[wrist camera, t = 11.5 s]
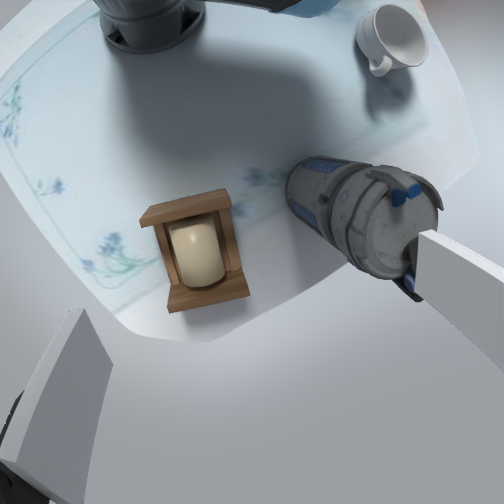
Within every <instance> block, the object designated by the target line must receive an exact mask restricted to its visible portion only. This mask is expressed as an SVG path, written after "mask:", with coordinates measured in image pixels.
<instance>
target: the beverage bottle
mask: <svg viewBox="0 0 504 504" xmlns="http://www.w3.org/2000/svg"><path fill="white" fill-rule="evenodd" d="M286 200H287V203H288V205H289V207H290V209H291V211H292V212H293V213H294V214H295V216H296V217H298V218H299V219H300V220H302V221H303V222H304V223H305V224H307V225H308V226H309V227H310V228H312V229H313V230H314V231H315V232H317V233H318V234H319V235H320V236H322V237H323V238H324V239H325V240H327V241H328V242H329V243H330V244H332V245H333V246H334V247H335V248H337V249H338V250H339V251H341V252H342V253H343V254H344V255H345V256H346V257H347V260H348V261H349V262H350V263H351V264H352V265H354V266H355V267H356V268H357V269H359V270H361V271H363V272H366V273H369V274H370V275H371V276H373V277H376V278H378V279H383V280H390V279H391V280H392V281H393V282H394V283H395V284H396V285H398V287H399V288H400V289H401V290H402V291H403V292H404V293H405V294H407V295H408V296H409V297H410V298H411V299H413V300H414V301H415V302H421V301H423V300H424V299H423V298H422V297H420V296H419V295H418V294H417V293H416V292H414V288H415V279H416V268H417V256H418V240H419V233H420V232H424V231H428V230H431V229H432V230H434V231H436V232H437V226H438V209H437V208H439V209H440V210H442V211H443V210H444V208H443V205H442V200H441V198H440V195H439V193H438V191H437V190H436V189H435V188H434V186H433V185H432V184H431V183H429V182H428V181H427V180H426V179H424V178H423V177H420V176H418V175H416V174H412V173H410V172H406V171H403V170H402V169H400V168H397V167H392V166H387V165H380V166H372V164H366V163H361V162H355V161H349V160H342V159H336V158H329V157H320V156H316V157H310V158H308V159H305V160H303V161H302V162H300V163H299V164H298V165H297V166H296V167H295V168H294V169H293V170H292V172H291V173H290V175H289V177H288V180H287V184H286Z"/></svg>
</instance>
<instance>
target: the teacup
mask: <svg viewBox="0 0 504 504" xmlns="http://www.w3.org/2000/svg"><path fill="white" fill-rule="evenodd" d="M356 39H357V43H358V45H359V47H360V49H361V51H362V52H363V53H364V55H365V56H366V57H367V58H368V59H369V69H370V72H371V73H372V74H373V75H375V76H377V77H382V76H384V75H385V74H387V73H388V72H389V71H390V69H399V68H406V67H416V66H419V65H421V64H422V63H423V62H424V61H425V60H426V57H427V54H428V43H427V38H426V35H425V33H424V31H423V29H422V27H421V25H420V24H419V22H418V21H417V20H416V19H415V17H414V16H413V15H412V14H411V13H410V12H408V11H407V10H406V9H404V8H402V7H401V6H399V5H396V4H391V3H385V4H381V5H380V6H378V7H377V8H375V9H374V10H372V11H370V12H368V13H367V14H365V15H364V16H363V17H362V18H361V19H360V20H359V21H358V23H357V26H356ZM378 66H379V67H378Z"/></svg>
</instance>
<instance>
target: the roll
mask: <svg viewBox="0 0 504 504" xmlns="http://www.w3.org/2000/svg"><path fill="white" fill-rule="evenodd" d="M168 230H169V233H170V237H171V241H172V244H173V248H174V251H175V255H176V258H177V262H178V265H179V269H180V272H181V275H182V279H183V282H184V284H185V285H187V286H189V287H202V286H207V285H210V284H213V283H215V282H217V281H219V280H220V279H221V278H222V277H223V276H224V275H225V269H224V265H223V261H222V256H221V252H220V248H219V243H218V239H217V234H216V230H215V225H214V221H213V217H212V215H207V214H204V215H195V216H191V217H187V218H183V219H181V220H178V221H176V222H174V223H172V224H170V225H169V226H168Z"/></svg>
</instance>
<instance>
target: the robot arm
mask: <svg viewBox="0 0 504 504" xmlns="http://www.w3.org/2000/svg"><path fill="white" fill-rule="evenodd" d="M93 1H94V2H95V3H96V4H97V5H98V7H99V8H100V25H101V29H102V31H103V33H104V35H105V36H106V38H107V39H108V40H109V41H110V42H111V43H112V44H113V45H114V46H115V47H117V48H118V49H120V50H122V51H125V52H128V53H134V54H150V53H156V52H160V51H163V50H166V49H169V48H171V47H173V46H175V45H177V44H179V43H180V42H182V41H183V40H185V39H186V38H187V37H188V36H189V35H190V34H191V33H192V32H193V31H194V30H195V29H196V28H197V26H198V25H199V23H200V21H201V19H202V17H203V13H204V5H205V1H207V2H217V3H225V4H233V5H240V6H246V7H252V8H258V9H263V10H268V12H270V13H274V14H281V13H283V14H288V15H293V16H297V17H302V18H311V17H315V16H320V15H322V14H324V13H326V12H327V11H329V10H330V9H332V8H333V7H334V6H335V5H336V4H337V3H338V2H339V1H340V0H93ZM414 292H416V293H417V294H418V295H419V296H420V297H422V298H423V299H424V300H425V301H426V302H428V303H429V304H430V305H431V306H432V307H433V308H435V309H436V310H437V311H438V312H439V313H440V314H442V315H443V316H444V317H445V318H446V319H447V320H449V321H450V322H451V323H452V324H453V325H454V326H455V327H456V328H457V329H458V330H460V331H461V332H462V333H463V334H464V335H465V336H466V337H467V338H468V339H470V340H471V341H472V342H473V343H474V344H475V345H476V346H477V347H478V348H479V349H480V350H481V351H482V352H484V354H486V355H487V356H488V357H489V358H490V359H491V360H492V361H493V362H494V363H495V364H496V365H497V366H498V367H499V368H500V369H501V370H502V371H503V372H504V269H503V268H501V267H500V266H498V265H496V264H495V263H493V262H491V261H489V260H487V259H486V258H484V257H482V256H481V255H479V254H477V253H475V252H474V251H472V250H470V249H468V248H466V247H464V246H463V245H461V244H459V243H457V242H455V241H453V240H451V239H450V238H448V237H446V236H444V235H442V234H440V233H438V232H436V231H434V230H432V229H431V230H428V231H424V232H420V233H419V240H418V256H417V268H416V279H415V288H414ZM112 367H113V363H112V361H111V359H110V358H109V356H108V354H107V352H106V351H105V349H104V347H103V345H102V343H101V341H100V339H99V337H98V335H97V333H96V332H95V329H94V328H93V325H92V323H91V321H90V319H89V317H88V315H87V313H86V311H85V309H79V310H74V311H68V313H67V315H66V316H65V318H64V319H63V321H62V323H61V324H60V326H59V328H58V329H57V331H56V333H55V334H54V336H53V338H52V340H51V341H50V343H49V345H48V347H47V349H46V350H45V352H44V354H43V356H42V357H41V359H40V361H39V363H38V365H37V367H36V369H35V371H34V373H33V375H32V377H31V378H30V380H29V382H28V384H27V386H26V389H25V390H24V391H23V392H22V393H21V394H20V395H19V397H18V398H17V399H16V400H15V402H14V405H13V407H12V409H11V411H10V413H11V414H9V416H8V418H7V420H6V424H5V425H4V427H3V430H2V432H1V434H0V504H49V500H52V501H53V502H55V503H56V504H84V496H85V489H86V483H87V476H88V470H89V465H90V459H91V454H92V448H93V444H94V438H95V434H96V430H97V425H98V421H99V416H100V412H101V408H102V404H103V400H104V396H105V392H106V388H107V385H108V381H109V377H110V374H111V370H112Z"/></svg>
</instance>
